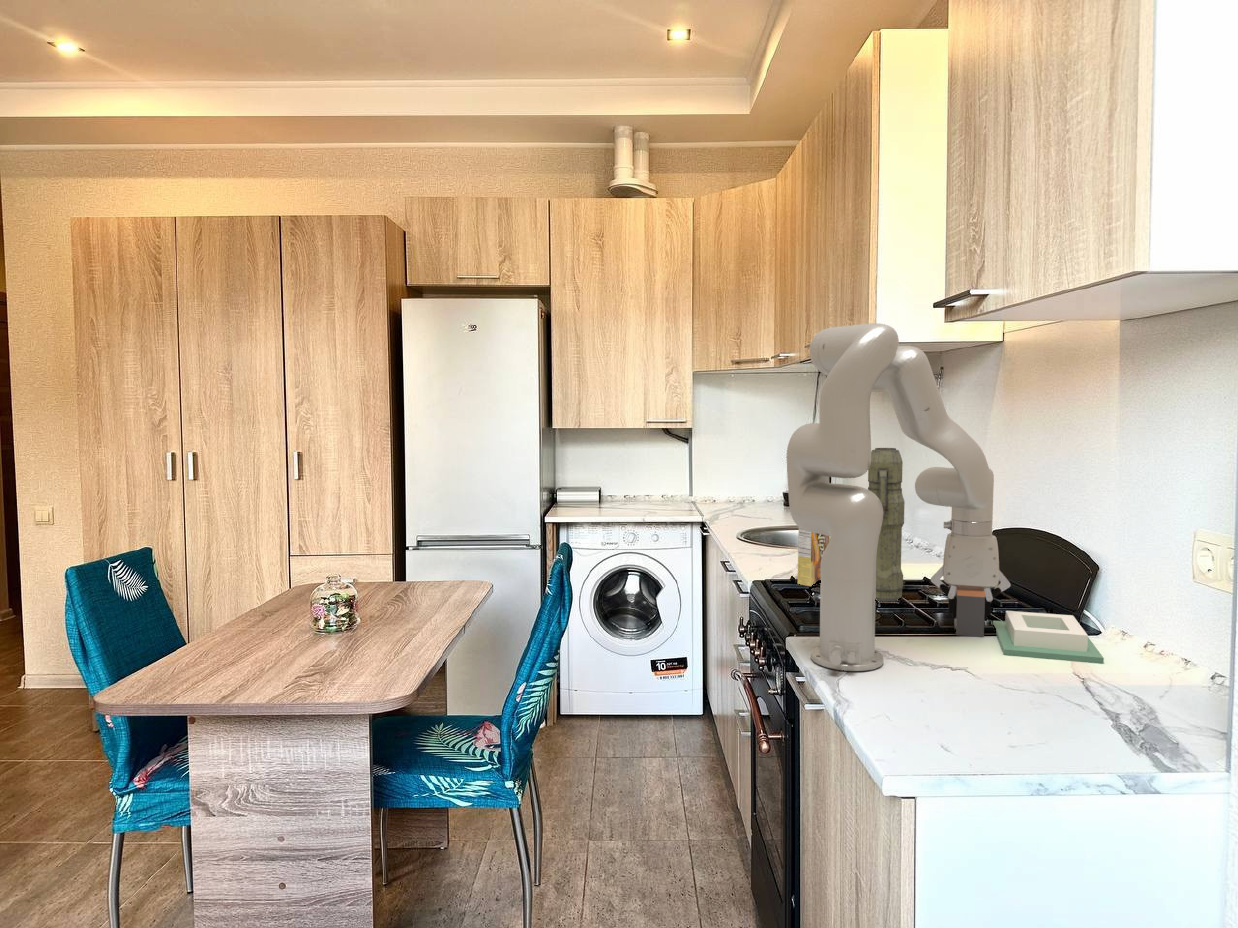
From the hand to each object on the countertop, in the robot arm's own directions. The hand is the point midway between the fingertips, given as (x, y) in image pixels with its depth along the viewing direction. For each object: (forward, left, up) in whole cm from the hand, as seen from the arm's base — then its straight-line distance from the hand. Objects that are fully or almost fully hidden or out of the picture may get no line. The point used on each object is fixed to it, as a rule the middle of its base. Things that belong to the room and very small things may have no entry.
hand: (969, 617), depth 164 cm
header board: (-4, -13, -3) cm, 14 cm away
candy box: (+34, +34, -3) cm, 48 cm away
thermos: (+24, +17, -3) cm, 30 cm away
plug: (0, 0, -3) cm, 3 cm away
